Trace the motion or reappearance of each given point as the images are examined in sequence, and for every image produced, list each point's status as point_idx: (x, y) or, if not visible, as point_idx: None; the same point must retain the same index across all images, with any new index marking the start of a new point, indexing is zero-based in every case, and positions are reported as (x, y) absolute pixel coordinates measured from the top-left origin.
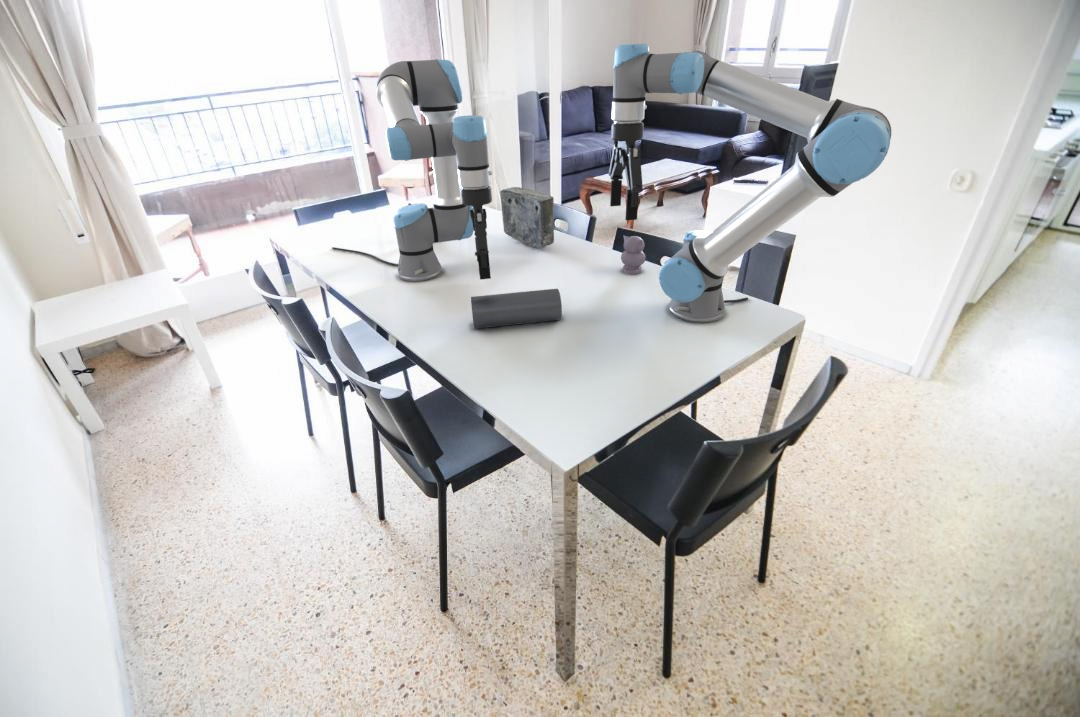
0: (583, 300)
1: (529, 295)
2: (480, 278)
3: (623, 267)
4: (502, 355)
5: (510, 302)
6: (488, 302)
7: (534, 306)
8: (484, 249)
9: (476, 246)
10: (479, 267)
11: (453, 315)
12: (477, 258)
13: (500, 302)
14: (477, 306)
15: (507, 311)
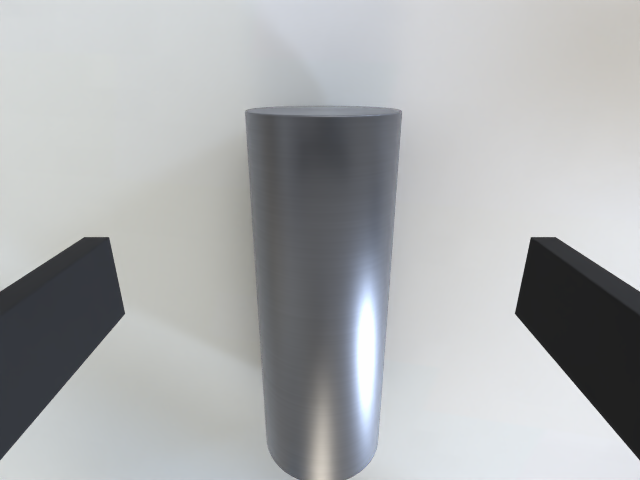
0: (424, 468)
1: (300, 385)
2: (78, 244)
3: None
4: (88, 198)
5: (274, 301)
6: (279, 206)
7: (265, 372)
8: (575, 365)
9: (631, 316)
10: (7, 293)
11: (463, 9)
12: (543, 249)
13: (275, 261)
14: (263, 146)
15: (256, 270)
